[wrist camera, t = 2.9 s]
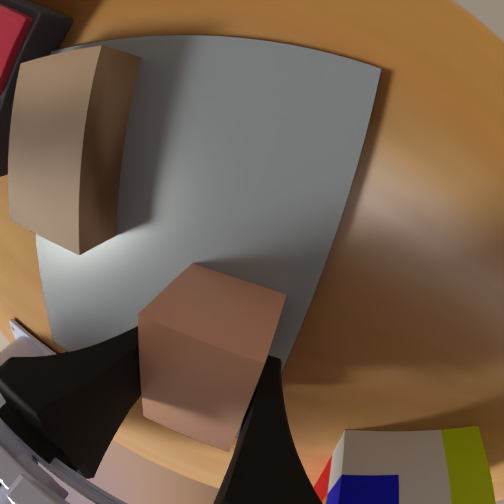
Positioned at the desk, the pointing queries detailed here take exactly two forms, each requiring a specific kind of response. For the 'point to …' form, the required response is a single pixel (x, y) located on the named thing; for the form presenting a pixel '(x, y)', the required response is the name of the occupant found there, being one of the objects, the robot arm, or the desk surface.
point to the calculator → (23, 52)
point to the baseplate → (219, 180)
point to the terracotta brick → (205, 352)
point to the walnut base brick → (70, 144)
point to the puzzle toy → (408, 468)
